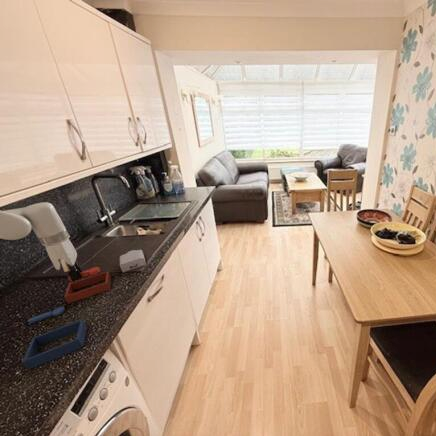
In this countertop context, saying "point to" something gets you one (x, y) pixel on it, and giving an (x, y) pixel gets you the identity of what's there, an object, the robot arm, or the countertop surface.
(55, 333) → the blue bin
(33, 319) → the blue spoon
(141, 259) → the charger
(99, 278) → the red bin
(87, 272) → the red spoon
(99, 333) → the countertop surface
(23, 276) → the countertop surface
